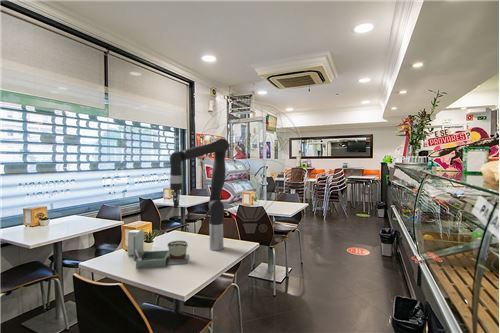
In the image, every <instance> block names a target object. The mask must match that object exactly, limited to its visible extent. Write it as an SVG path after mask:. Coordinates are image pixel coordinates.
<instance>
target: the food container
mask: <svg viewBox="0 0 500 333" xmlns="http://www.w3.org/2000/svg"><path fill="white" fill-rule="evenodd" d="M167 247H168V250H169V256H170V258H169V259H170V260H186V255H187V248H188V242H187V241H186V240H173V241H169V242H167Z"/></svg>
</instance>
